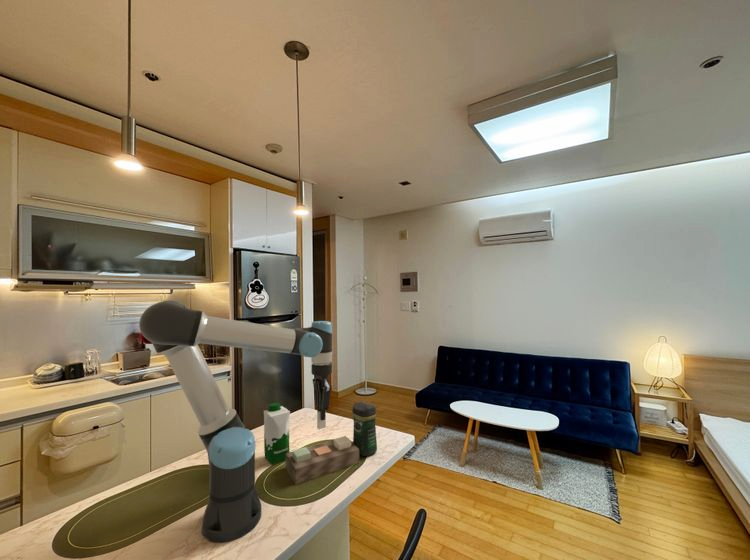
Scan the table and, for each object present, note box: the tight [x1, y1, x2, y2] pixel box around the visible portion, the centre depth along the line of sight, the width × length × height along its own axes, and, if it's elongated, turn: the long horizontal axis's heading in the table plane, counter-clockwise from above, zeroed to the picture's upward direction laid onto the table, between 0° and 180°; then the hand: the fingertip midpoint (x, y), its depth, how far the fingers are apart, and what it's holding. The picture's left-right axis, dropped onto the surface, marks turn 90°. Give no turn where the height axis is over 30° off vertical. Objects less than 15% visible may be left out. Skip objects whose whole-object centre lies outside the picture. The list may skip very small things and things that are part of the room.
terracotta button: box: [314, 445, 332, 457], centre depth 116 cm, size 5×5×4 cm
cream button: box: [333, 435, 352, 450], centre depth 120 cm, size 5×5×4 cm
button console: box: [285, 439, 360, 485], centre depth 116 cm, size 24×12×5 cm, turn 121°
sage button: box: [291, 446, 311, 463], centre depth 111 cm, size 5×5×4 cm
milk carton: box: [263, 402, 291, 466], centre depth 121 cm, size 9×9×20 cm
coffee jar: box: [351, 401, 378, 457], centre depth 126 cm, size 10×8×19 cm
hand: (321, 427), depth 116 cm, fingers closed
